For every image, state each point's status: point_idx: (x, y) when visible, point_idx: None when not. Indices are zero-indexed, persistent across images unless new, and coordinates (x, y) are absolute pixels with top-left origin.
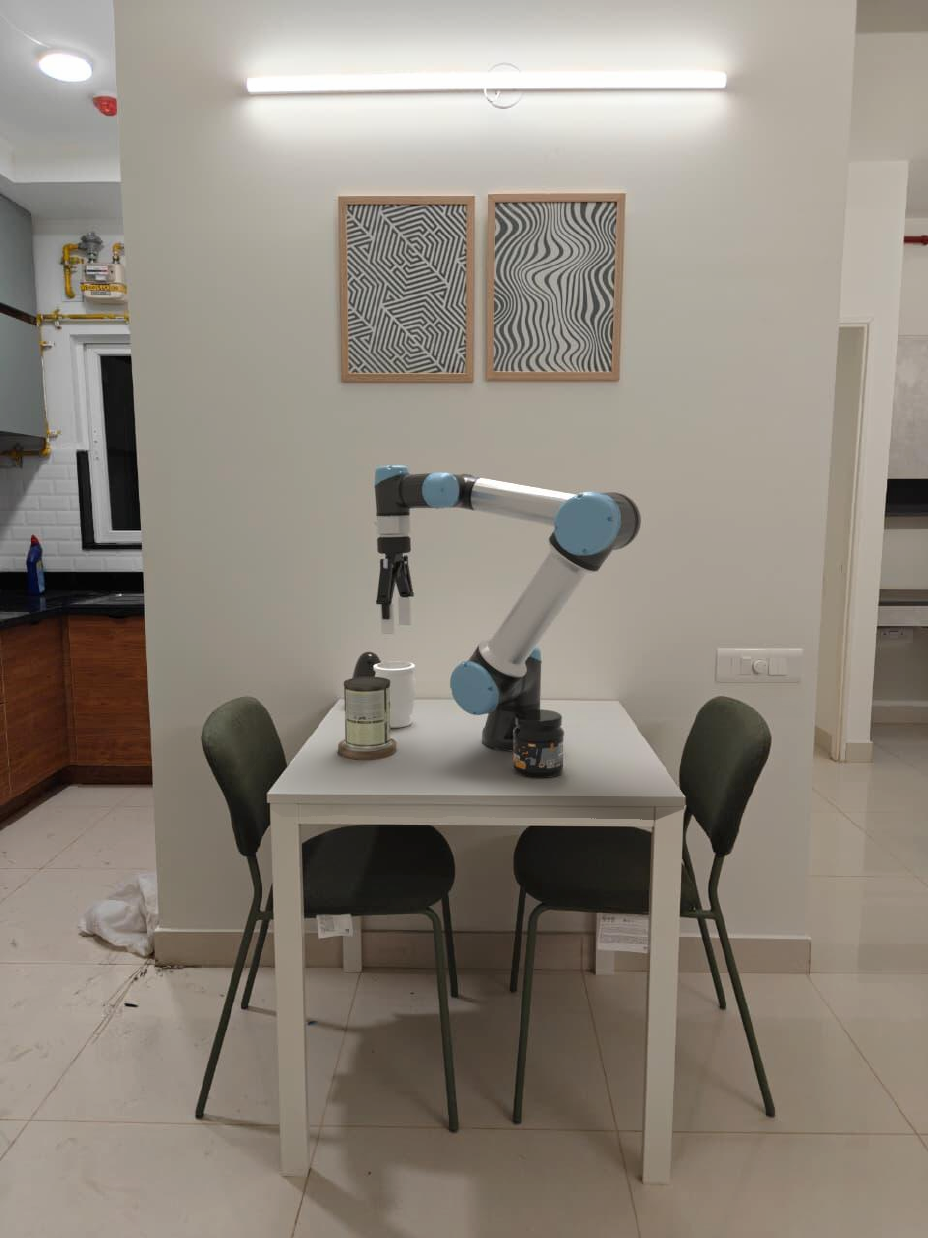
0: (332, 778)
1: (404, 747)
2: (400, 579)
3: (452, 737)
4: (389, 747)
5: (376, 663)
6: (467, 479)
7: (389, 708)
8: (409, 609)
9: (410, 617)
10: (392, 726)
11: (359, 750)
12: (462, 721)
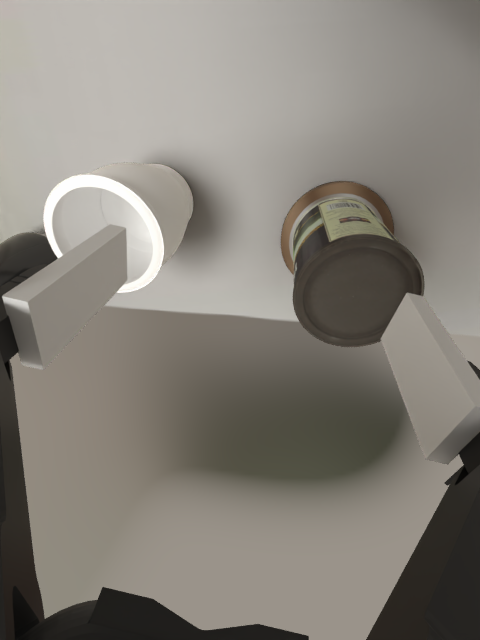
0: (476, 278)
1: (322, 165)
2: (19, 511)
3: (253, 41)
4: (366, 196)
5: (1, 284)
6: None
7: (361, 217)
8: (82, 262)
9: (95, 238)
10: (192, 203)
11: None
12: (110, 17)
